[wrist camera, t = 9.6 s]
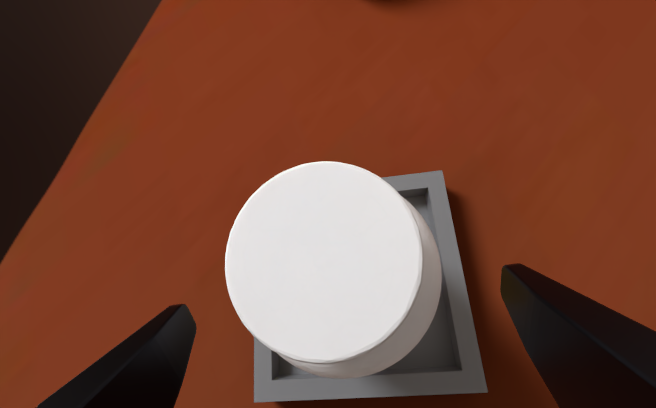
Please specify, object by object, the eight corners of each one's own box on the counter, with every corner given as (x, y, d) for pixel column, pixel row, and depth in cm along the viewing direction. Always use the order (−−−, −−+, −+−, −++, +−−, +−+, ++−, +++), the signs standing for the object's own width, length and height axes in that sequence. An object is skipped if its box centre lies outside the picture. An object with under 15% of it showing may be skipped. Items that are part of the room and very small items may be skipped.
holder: (476, 383, 17) (488, 392, 15) (266, 392, 19) (254, 402, 17) (436, 182, 21) (442, 170, 19) (265, 203, 23) (254, 193, 21)
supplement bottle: (356, 210, 21) (326, 78, 9) (436, 284, 19) (547, 248, 6) (282, 283, 20) (135, 252, 8) (356, 369, 18) (313, 508, 6)
